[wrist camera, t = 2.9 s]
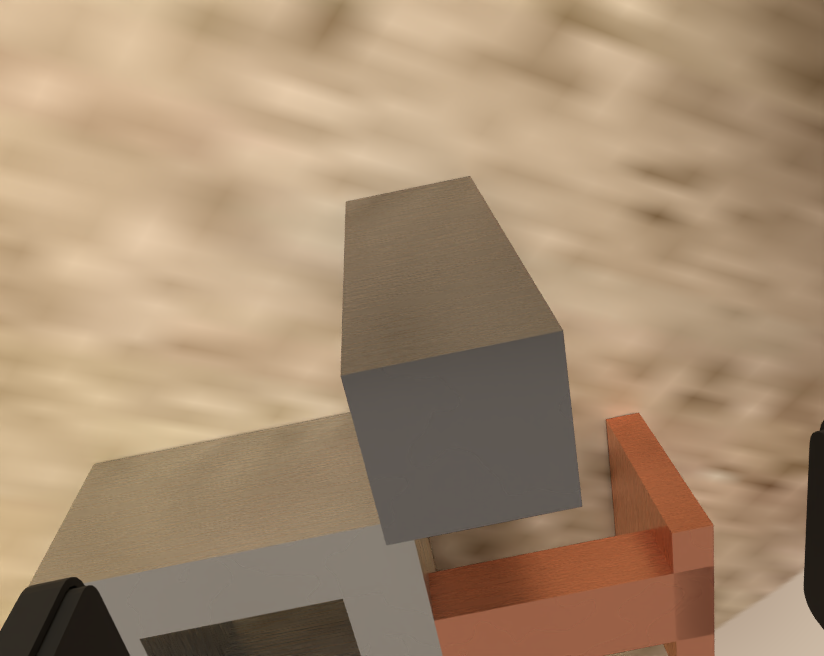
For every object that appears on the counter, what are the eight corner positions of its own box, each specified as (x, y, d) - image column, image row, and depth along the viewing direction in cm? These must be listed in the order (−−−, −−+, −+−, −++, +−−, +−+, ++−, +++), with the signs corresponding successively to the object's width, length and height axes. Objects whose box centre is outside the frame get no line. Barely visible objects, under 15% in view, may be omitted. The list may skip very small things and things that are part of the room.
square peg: (470, 176, 18) (563, 330, 10) (487, 290, 20) (581, 506, 12) (345, 201, 18) (340, 376, 10) (372, 314, 20) (386, 545, 12)
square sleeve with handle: (192, 673, 25) (157, 824, 21) (93, 464, 21) (24, 595, 17) (649, 583, 25) (715, 716, 20) (635, 355, 21) (713, 457, 16)
